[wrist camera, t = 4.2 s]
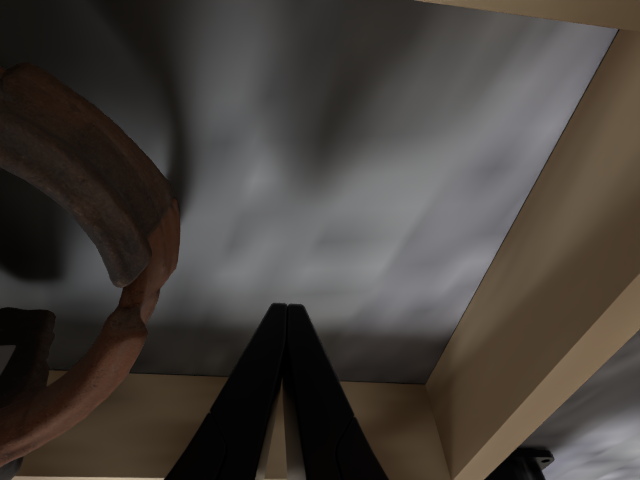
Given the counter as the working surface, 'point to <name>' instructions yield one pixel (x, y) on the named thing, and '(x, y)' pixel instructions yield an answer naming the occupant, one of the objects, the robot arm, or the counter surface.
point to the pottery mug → (106, 233)
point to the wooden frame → (476, 324)
